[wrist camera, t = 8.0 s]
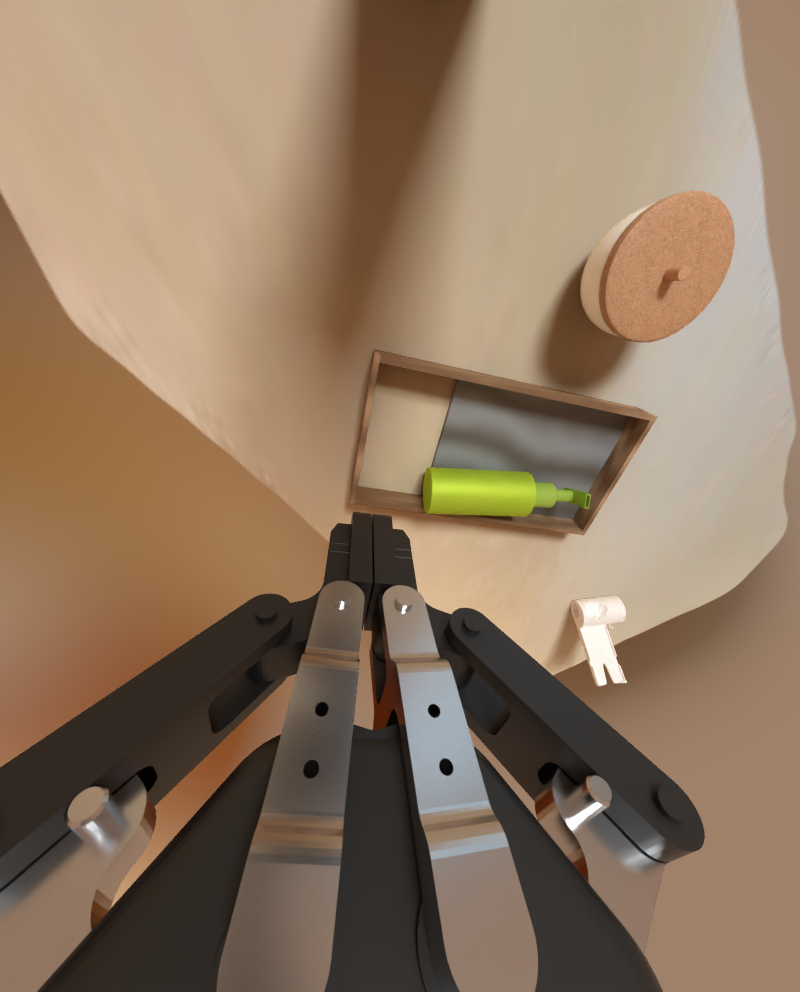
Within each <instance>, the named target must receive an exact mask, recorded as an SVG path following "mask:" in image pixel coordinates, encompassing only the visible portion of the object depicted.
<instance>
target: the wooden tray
mask: <svg viewBox="0 0 800 992" xmlns="http://www.w3.org/2000/svg"><path fill="white" fill-rule="evenodd" d="M379 363H384V364H388V365H393V366H398V367H402V368H407V369H412V370H416V371H421V372H426V373H430V374H435V375H440V376H444V377H449V378H454V379H457V382H456V385H455V388H454V392H453V395H452V398H451V402H450V405H449V409H448V412H447V415H446V419H445V422H444V426H443V429H442V432H441V436H440V439H439V443H438V446H437V449H436V453H435V456H434V459H433V463H432V466H431V467H433V468H455V469H476V470H498V471H519V472H529V473H530V474H531V475H532V476H533V478H534V481H535V482H550V483H553V484H554V485H555V487H556V489H564V487H566V488H572V489H576V490H580V491H583V492H587V493H589V494H591V498H590V505H589V509H585V508H582V507H580V506H577V505H574V504H571V503H567V502H556V503H555V504H554V506H553V507H551V508H537V507H534V508H533V510H532V512H531V513H530V514H529V515H528V516H525V517H521V516H488V515H455V514H433V515H440V516H447V517H454V518H462V519H469V520H476V521H484V522H491V523H498V524H506V525H513V526H520V527H528V528H535V529H542V530H550V531H557V532H564V533H572V534H579V535H584V534H585V533H586V531H587V530H588V528H589V526H590V525H591V523H592V522H593V520H594V518H595V517H596V515H597V514H598V512H599V510H600V509H601V507H602V505H603V504H604V502H605V501H606V499H607V497H608V496H609V494H610V493H611V491H612V489H613V488H614V486H615V485H616V483H617V481H618V480H619V478H620V477H621V475H622V473H623V472H624V470H625V469H626V467H627V465H628V464H629V462H630V460H631V459H632V457H633V456H634V454H635V452H636V451H637V449H638V448H639V446H640V444H641V443H642V441H643V440H644V438H645V436H646V435H647V433H648V432H649V430H650V428H651V427H652V425H653V424H654V422H655V420H656V419H657V416H655V415H653V414H650V413H648V412H646V411H644V410H642V409H639V408H637V407H632V406H628V405H623V404H619V403H614V402H610V401H605V400H600V399H596V398H591V397H587V396H582V395H578V394H573V393H569V392H564V391H560V390H555V389H551V388H546V387H542V386H537V385H533V384H528V383H523V382H519V381H514V380H510V379H505V378H501V377H496V376H492V375H487V374H483V373H478V372H474V371H469V370H465V369H460V368H456V367H451V366H446V365H442V364H437V363H433V362H428V361H424V360H419V359H415V358H410V357H406V356H401V355H397V354H392V353H388V352H383V351H379V350H374V354H373V360H372V366H371V372H370V378H369V384H368V390H367V396H366V402H365V408H364V414H363V420H362V426H361V432H360V438H359V444H358V450H357V456H356V462H355V468H354V474H353V480H352V486H351V495H350V503H352V504H359V505H367V506H374V507H381V508H389V509H396V510H403V511H411V512H418V513H425V511H424V506H423V496H421V495H414V494H407V493H400V492H393V491H387V490H380V489H373V488H366V487H359V486H358V481H359V476H360V470H361V464H362V459H363V453H364V447H365V442H366V436H367V431H368V425H369V419H370V414H371V408H372V402H373V397H374V391H375V385H376V380H377V374H378V368H379ZM425 514H426V513H425Z"/></svg>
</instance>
